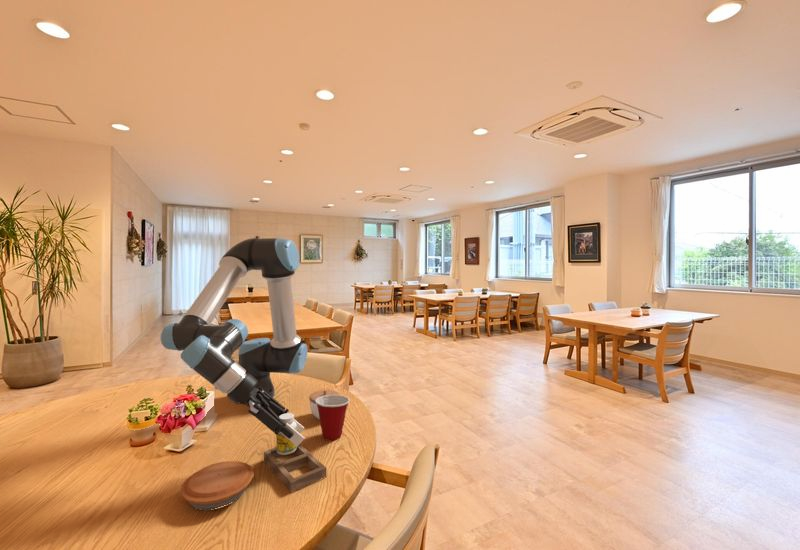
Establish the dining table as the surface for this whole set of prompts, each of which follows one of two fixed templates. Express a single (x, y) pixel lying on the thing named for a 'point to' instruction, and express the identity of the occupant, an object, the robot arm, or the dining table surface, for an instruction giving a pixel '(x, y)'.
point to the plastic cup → (332, 415)
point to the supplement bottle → (282, 442)
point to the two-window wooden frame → (293, 464)
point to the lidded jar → (315, 395)
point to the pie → (217, 484)
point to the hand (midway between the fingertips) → (300, 436)
